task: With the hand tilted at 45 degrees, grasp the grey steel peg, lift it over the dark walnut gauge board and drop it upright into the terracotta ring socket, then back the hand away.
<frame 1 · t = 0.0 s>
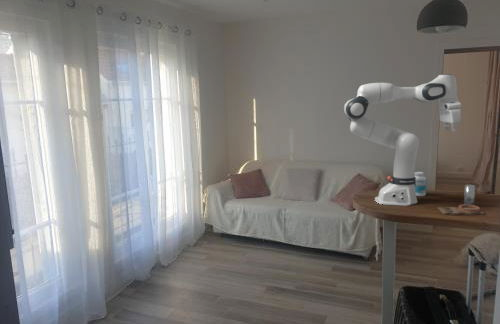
hand: (450, 130, 196), 39 cm above the table, tool pointing down, fingers open, 8 cm apart
pill bottle: (418, 195, 218), on the table
gauge board: (460, 211, 183), on the table
steel peg: (468, 206, 192), on the table
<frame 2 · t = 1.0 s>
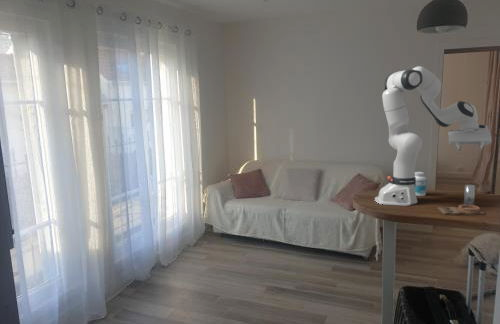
hand: (469, 149, 198), 28 cm above the table, tool tilted 45°, fingers open, 8 cm apart
nothing on the table moved.
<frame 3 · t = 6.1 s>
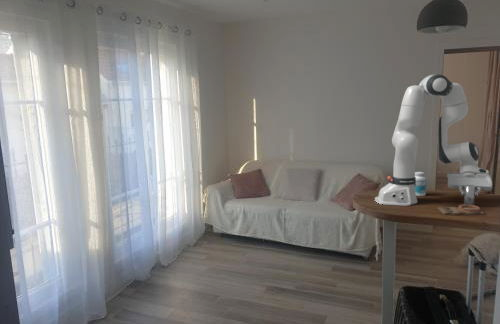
hand: (469, 195, 190), 6 cm above the table, tool tilted 45°, fingers closed on steel peg, 4 cm apart
steel peg: (468, 206, 192), on the table, touching gripper
everything else where it was.
when the fingers open (9 cm above the table, at t = 13.3 s): steel peg drops 2 cm, resting on gauge board.
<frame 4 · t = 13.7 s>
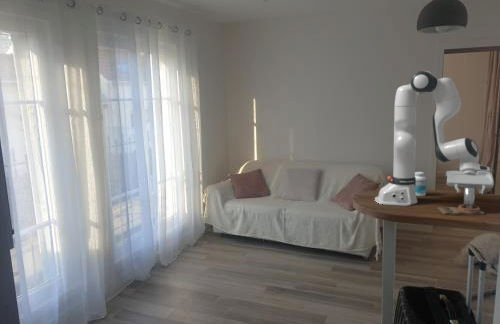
hand: (469, 193, 180), 9 cm above the table, tool tilted 45°, fingers open, 8 cm apart
steel peg: (468, 209, 182), point 1 cm above the table, touching gauge board
everything else where it was.
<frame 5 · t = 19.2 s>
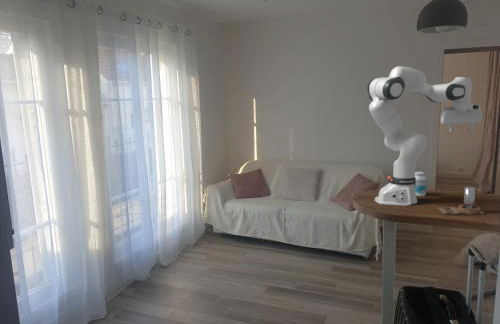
hand: (460, 131, 205), 37 cm above the table, tool pointing down, fingers open, 8 cm apart
nothing on the table moved.
at the end: steel peg 0.0 cm from the target spot on the gauge board, point 1.2 cm above the gauge board's base; steel peg tilted 0°; the gripper is holding nothing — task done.
